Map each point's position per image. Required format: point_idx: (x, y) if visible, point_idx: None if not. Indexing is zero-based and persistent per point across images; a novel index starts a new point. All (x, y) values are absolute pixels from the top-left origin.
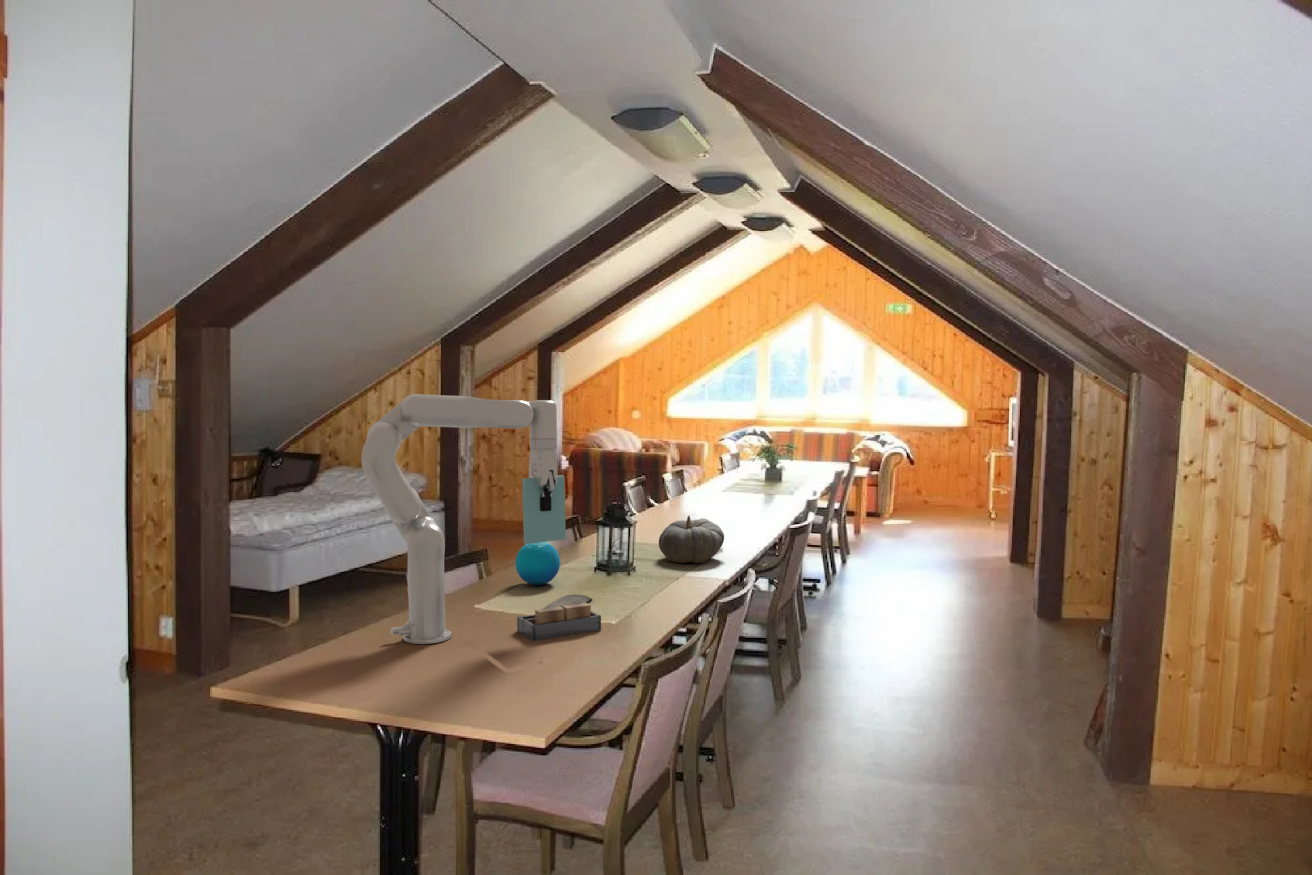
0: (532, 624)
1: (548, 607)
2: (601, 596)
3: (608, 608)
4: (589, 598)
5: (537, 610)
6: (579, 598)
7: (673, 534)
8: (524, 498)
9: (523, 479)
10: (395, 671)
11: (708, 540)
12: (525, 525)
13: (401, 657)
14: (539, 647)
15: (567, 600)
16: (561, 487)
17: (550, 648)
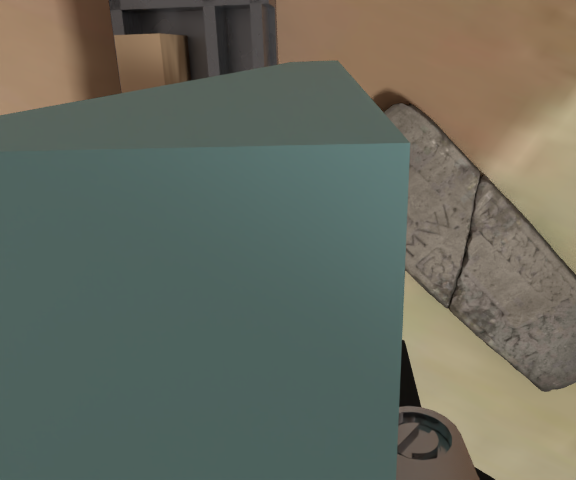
0: (128, 4)
1: (489, 212)
2: (573, 432)
3: (420, 385)
4: (537, 382)
5: (147, 38)
6: (543, 351)
7: None
8: (244, 74)
9: (76, 141)
10: None
11: None
12: (282, 64)
13: None
14: (95, 11)
15: (530, 303)
16: None
17: (71, 40)
